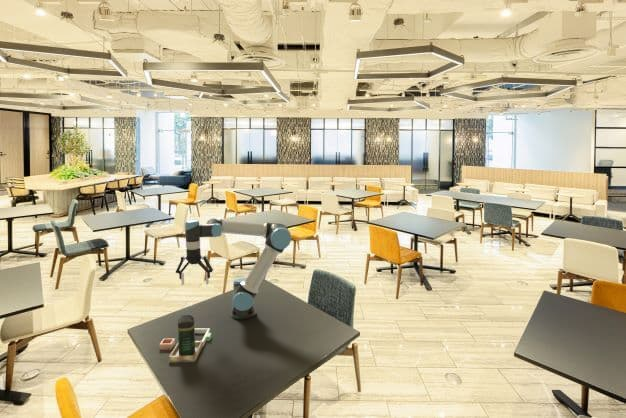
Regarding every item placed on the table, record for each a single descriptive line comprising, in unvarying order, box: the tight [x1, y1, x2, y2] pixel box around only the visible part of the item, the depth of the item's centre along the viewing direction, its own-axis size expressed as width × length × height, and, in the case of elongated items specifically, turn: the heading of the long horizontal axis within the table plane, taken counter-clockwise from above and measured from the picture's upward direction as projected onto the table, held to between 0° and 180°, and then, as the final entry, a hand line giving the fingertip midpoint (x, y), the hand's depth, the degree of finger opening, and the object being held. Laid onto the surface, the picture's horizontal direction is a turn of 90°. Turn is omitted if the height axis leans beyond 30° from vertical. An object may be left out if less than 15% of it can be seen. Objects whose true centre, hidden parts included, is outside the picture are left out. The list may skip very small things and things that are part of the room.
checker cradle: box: [194, 327, 212, 347], centre depth 201 cm, size 15×15×2 cm
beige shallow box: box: [168, 340, 204, 363], centre depth 186 cm, size 13×14×3 cm
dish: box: [159, 337, 176, 351], centre depth 193 cm, size 6×6×3 cm
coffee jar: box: [177, 314, 196, 356], centre depth 185 cm, size 10×8×19 cm
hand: (195, 284), depth 210 cm, fingers open, 13 cm apart
